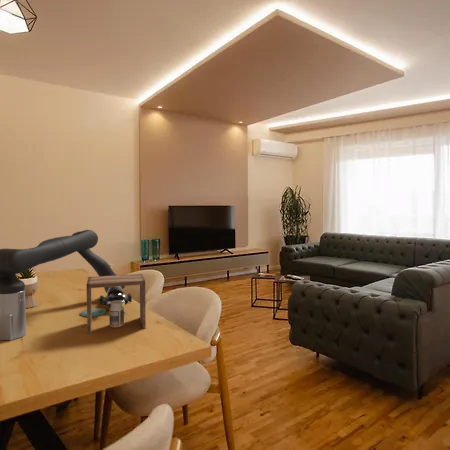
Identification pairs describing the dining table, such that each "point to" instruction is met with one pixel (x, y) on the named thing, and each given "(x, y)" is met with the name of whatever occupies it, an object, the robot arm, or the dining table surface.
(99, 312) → the mat
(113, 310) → the pill bottle
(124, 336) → the dining table surface
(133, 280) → the cubby
